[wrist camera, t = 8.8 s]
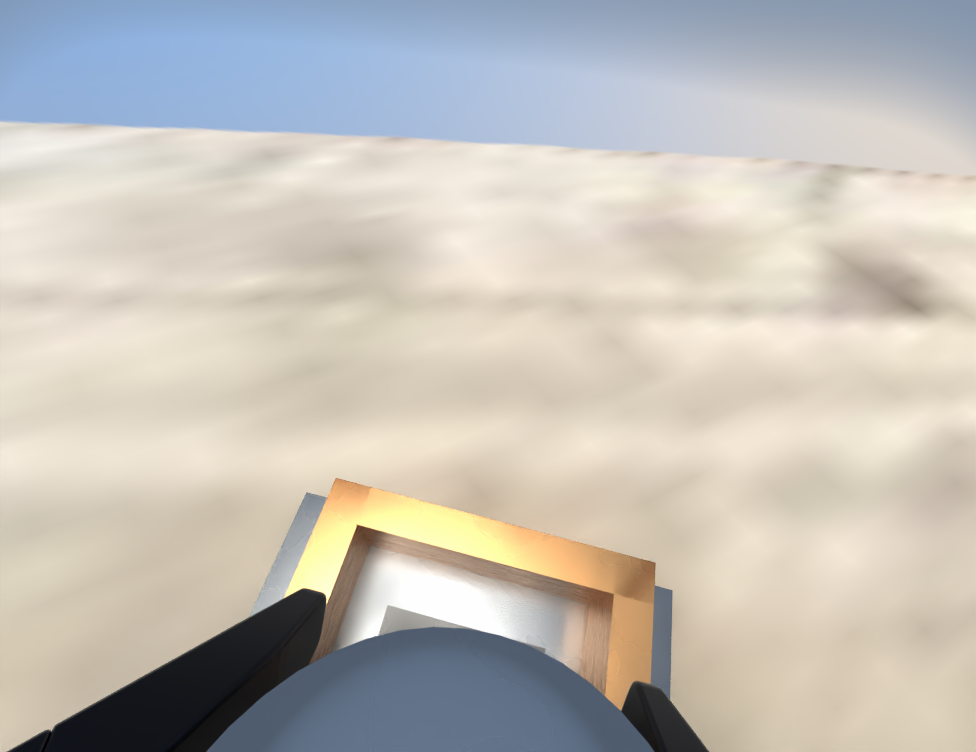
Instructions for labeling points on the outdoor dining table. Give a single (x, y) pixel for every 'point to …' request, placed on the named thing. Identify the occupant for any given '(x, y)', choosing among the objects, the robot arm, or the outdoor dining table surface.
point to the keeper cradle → (475, 583)
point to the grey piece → (433, 699)
